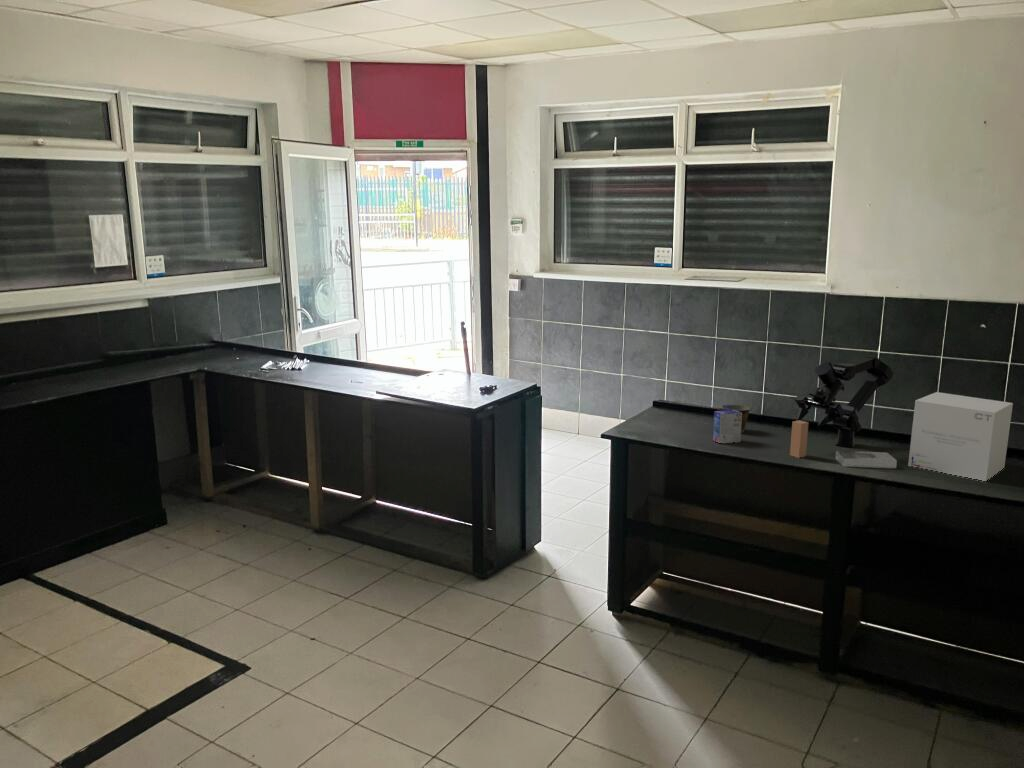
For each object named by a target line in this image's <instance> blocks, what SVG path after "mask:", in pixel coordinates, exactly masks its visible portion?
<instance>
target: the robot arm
mask: <svg viewBox="0 0 1024 768" xmlns="http://www.w3.org/2000/svg"><path fill="white" fill-rule="evenodd" d="M864 371H865V372H866V380H865V382H864V383H863V384H862V385H861V387H860V388H859V389H858V390H857V391H856V393H855V394H854V396H853V397H852V398H851V399H850V401H849V402H848V403H847V404H842V403H841V404H840V403H836V401H837V399H836V396H838V394H839V392H840V391H845V385H844V382H842V381H846V382H850V381H851V380H852V379H854V378H855V377H856V375H857V374H859V373H862V372H864ZM814 372H815V374H816V376H817V378H818V380H819V381H820V382H821V384H823V385H822V388H821V387H817V386H812V385H810V386H809V387H808V390H807V393H806V394H807V395H809V396H810V398H811V400H813V401H811V400H810V398H808V396H805V395H800V394H799V395H796V397H795V398H794V401H795V403H796V405H797V406H798V412H797V418H796V421H798V420H800V421H802V419H803V418H805V417H806V415H807V414H808V413H809V412H810V411H809V410H811V408H815V409H819V410H824V414H823V416H822V417H821V418H820V420H819V422H818V424H817V427H818V428H822V427H823V426H824V425H826V424H828V423H830V422H832V425H833V429H838V433H837V434H838V435H837V440H836V442H835V446H839V447H845V448H846V447H847V448H855V444H856V442H854V439H855V433H859V432H860V431H861V428H862V425H861V423H860V421H859V418H860V416H859V413H860V411H861V410H862V408H863V407H864V406H865V405H866V403H867V402H868V401H869V399H870V398H871V397H872V396H873V395H874V393H875V392H876V391H877V390H878V388H880V387H882V386H885V385H886V384H887V383H889V381H890V380H891V379H892V378H893V376H894V373H893V370H892V368H891V367H890V366H889V365H888V364H886V363H884V362H883V361H881V359H880V358H879V357H876V356H870V355H868V356H864V358H861V359H857V360H854V361H852V362H849V363H834V364H832V363H831V361H824V363H820V364H819V365H818V366H816V367H815V369H814Z"/></svg>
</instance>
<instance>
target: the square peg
mask: <svg viewBox="0 0 1024 768" xmlns="http://www.w3.org/2000/svg"><path fill="white" fill-rule="evenodd" d="M808 431H809V422H808V421H804V420H798V421H797V420H795V421H794V420H793V421H792V425H791V435H790V436H791V437H790V448H789V456H790V455H791V457H793V456H794V458H798V459H800V457H801V458H805V457H807V446H808V445H807V444H808V435H809V434H808V433H809V432H808Z"/></svg>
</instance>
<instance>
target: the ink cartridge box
mask: <svg viewBox="0 0 1024 768" xmlns="http://www.w3.org/2000/svg"><path fill="white" fill-rule="evenodd" d="M731 405H732V404H725V405H722V409H723V410H718V411H717V410H716V411H713V434H712V435H713V438H712V441H713V440H714V441H713V442H715V441H716V442H718V443H722V444H732V443H733V442H735V443H741V440H742V439H741V437H742V432H741V423H742V412H740V411H737V410H732V409H731ZM725 407H730V409H725ZM716 442H715V443H716ZM718 443H717V444H718Z"/></svg>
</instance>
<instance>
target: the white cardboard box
mask: <svg viewBox="0 0 1024 768" xmlns="http://www.w3.org/2000/svg"><path fill="white" fill-rule="evenodd" d="M1013 405H1014V403H1013V402H1008V401H1001V400H996V399H995V400H994V399H988V398H987V399H986V398H981V397H975V396H973V397H972V396H966V395H960V394H955V393H954V394H953V393H946V392H938V391H936V392H933V393H930V394H928V395H925V396H924V397H920V398H918V399H916V400H915V402H914V409H913V420H912V427H911V436H910V446H909V454H908V455H909V456H908V463H907V466H908V467H911V466H913V467H912V468H916V467H919V468H918V469H921V468H923V469H922V470H925V469H928V470H927V471H930V470H933V471H932V472H935V471H938V472H937V473H940V472H943V473H942V474H944V473H947V474H946V475H949V474H952V475H951V476H954V475H957V476H956V477H959V476H962V477H961V478H964V477H968V478H972V479H971V480H973V479H978V480H982V481H981V482H983V481H987V480H988V479H989V480H991V479H992V478H993V476H994V475H995V474H996V475H998V474H999V473H1000V472H999V471H1001V470H1002V469H1003V468H1004V469H1005V465H1006V457H1007V450H1008V443H1009V437H1010V436H1009V434H1010V427H1011V420H1012V413H1013ZM1004 469H1003V470H1004ZM1003 470H1002V471H1003ZM1002 471H1001V472H1002ZM998 472H999V473H998ZM997 473H998V474H997ZM996 475H995V476H996ZM995 476H994V477H995ZM991 477H992V478H991ZM968 478H967V479H968ZM990 478H991V479H990ZM978 480H977V481H978ZM989 480H988V481H989ZM988 481H987V482H988Z"/></svg>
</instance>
